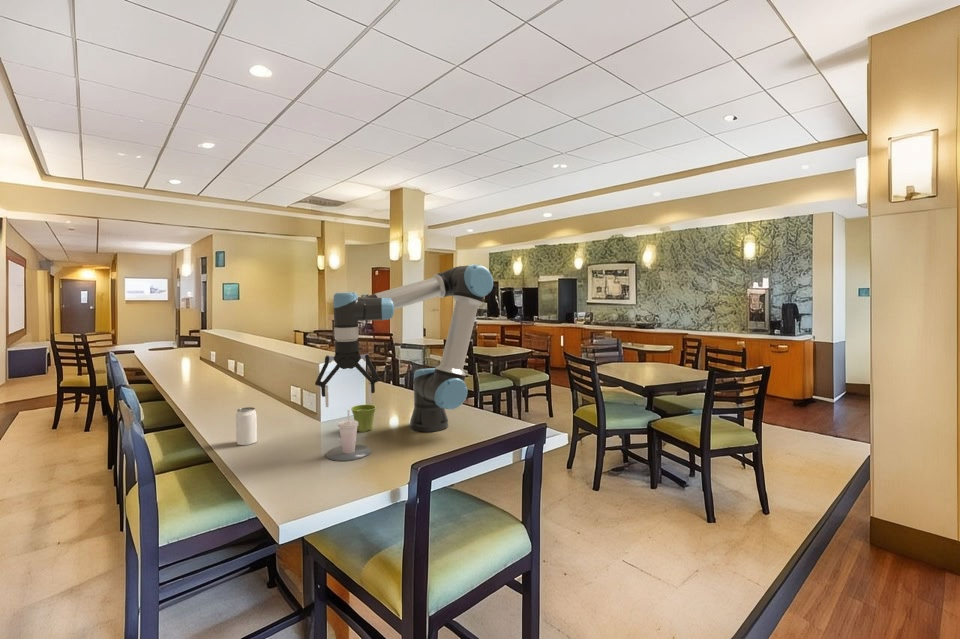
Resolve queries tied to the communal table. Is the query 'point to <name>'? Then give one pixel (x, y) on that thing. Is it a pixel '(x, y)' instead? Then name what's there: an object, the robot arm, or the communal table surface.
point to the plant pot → (364, 416)
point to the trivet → (338, 454)
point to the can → (246, 426)
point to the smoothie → (348, 434)
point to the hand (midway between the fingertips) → (349, 404)
